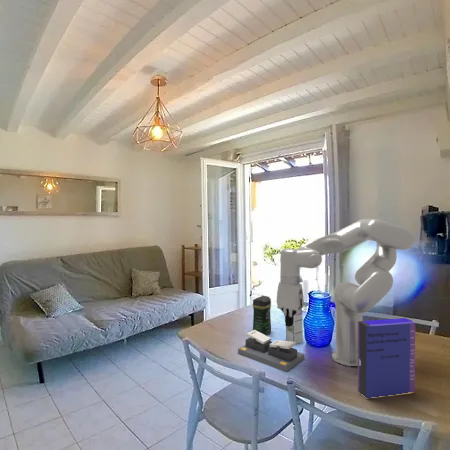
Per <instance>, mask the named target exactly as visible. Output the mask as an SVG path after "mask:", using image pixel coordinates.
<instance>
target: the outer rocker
mask: <svg viewBox="0 0 450 450" xmlns="http://www.w3.org/2000/svg"><path fill="white" fill-rule="evenodd" d="M246 336H247V337H248V338H252V339H253V338H254V339H256V341H258V342H260V343H261V344H265V343H267V342H269V341H272V338H271V337H270V336H268V335H264V334H262V333H260V332H258V331H256V330H253V329H252V330H251V331H248V332H247V333H246Z"/></svg>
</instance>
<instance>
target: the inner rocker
mask: <svg viewBox="0 0 450 450" xmlns="http://www.w3.org/2000/svg"><path fill="white" fill-rule="evenodd" d="M296 345H297V344H296V342H291V341H287V340H280V339H277V340H274V341H272V343H271V344H270V347H276V346H279V347H280V348H284V349H290V348H294V346H296Z"/></svg>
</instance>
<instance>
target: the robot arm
mask: <svg viewBox="0 0 450 450" xmlns="http://www.w3.org/2000/svg"><path fill="white" fill-rule="evenodd" d="M415 239H416V238H415V234H414V233H413V231H412V230H410V229H409V228H407V227H404V226H400V225H398V224H394V223H391V222H388V221H385V220H383V219H378V218H363V219H359V220H357V221H355V222H353V223H351V224H349V225H347V226H345V227H343V228H341V229H339V230H337V231H335V232H333V233H330V234H326V235H325V236H321V237H319V238H316V239H313V240H311V241H309V242H307V243H305V244H303V245H302V246H300V247H298V248H283V249H282V250H281V251H280V271H279V272H280V273H279V274H280V275H279V277H280V281H279V282H278V285H277V291H276V292H277V293H276V305H277V309H279V310H280V311H281V312H282V313H283V316H284V323H285V327H286V326H288V327H290V326H292V325H293V323H294V315H295V314H300V313H302V314H303V308H304V306H305V305H304V304H305V301H304V299H305V298H304V289H303V285H302V283H303V278H301V276H300V274H301V273H300V271H301V268H305V269H316V268H318V267H319V266H321V264H322V262H323V257H322V256H325V255H330V254H338V253H344V252H346V251H349V250H351V249H353V248H355V247H357V246H358V245H361V244H363V243H365V242H366V241H372V242H373V241H374V242H375V243H376V249H375V252H374V253H373V255H371V257H369V258H368V260H367V261H365V262H364V263H363V265H361V266H360V267H359V268H358V269H357V270H356V271H355V274H354V280H355V282H356V283H357V284H358V285H357V284H354V283H352V282H349V281H343V282H340V283H338V284H337V285H336V287H335V288H334V291H333V292H334V293H333V299H334V305H335V333H336V334H335V335H336V336H335V337H336V338H335V346H336V347H335V351H334V352H333V353H332V354H331V357H332V360H333V361H334V362H336V363H337V364H339V363H340V365H342V366H345V365H346V367H351V366H358V321H362V314H364V313H368V312H369V311H370V310H372V308H374V307H375V306H376V305H378V303H379V302H380V301H382V299H383V298H385V296H386V295H388V294H389V293H390V291H391V289H392V288H393V285H394V277H393V275H392V273H391V272H390V271H391V270H392V268H393V267H394V266H395V265H396V263H397V262H396V261H397V250H400V251H401V250H402V251H403V250H404V251H405V250H408V249H410V248H411V247H412V246H413V245H414V243H415Z"/></svg>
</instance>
